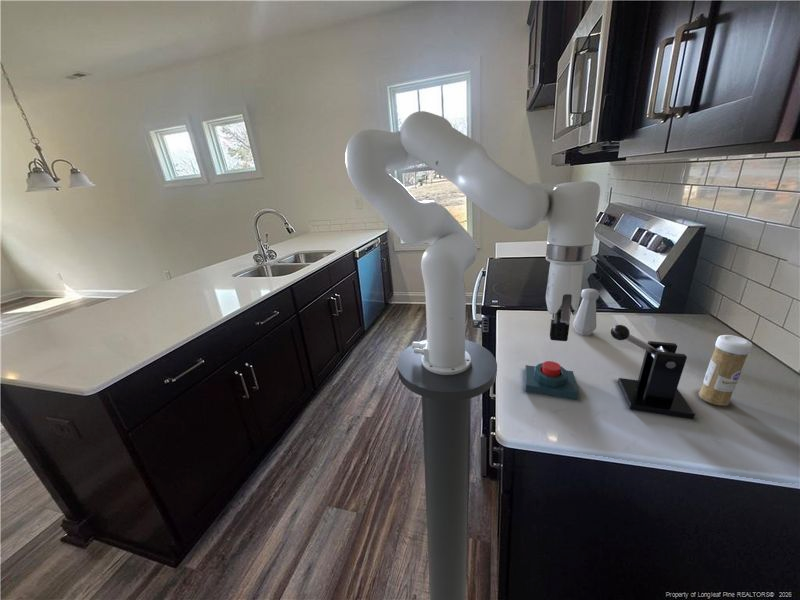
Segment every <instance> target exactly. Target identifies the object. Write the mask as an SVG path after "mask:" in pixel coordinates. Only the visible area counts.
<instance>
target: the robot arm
mask: <svg viewBox="0 0 800 600" xmlns="http://www.w3.org/2000/svg"><path fill="white" fill-rule="evenodd" d="M344 160H345V167H346V172H347V176H348V177H349V180H350V182H351V184H352V185H353V187H354V188H355V190H356V191H357V193H358V194H359V195H360V196H362V198H363V199H364V200H365V201H366V202H367V203H368V204H369V205H370V206H371V207H372V208H373V209H374V210H375V211H376V212H377V214H378V215H379V216H380V218H382V219H383V221H384V222H385V223H386V224H387V226H388V227H390V229H391V230H392V232H394V233H395V234H396V235H397V236H398V238H399V239H400V240H401V241H402V242H403V243H404V244H406V245H408V246H411V247H418V246H422V245H423V244H425V243H428V245H429V246H428V247H427V248H426V249H425V251H424V252H423V254H422V257H421V260H420V262H421V263H420V269H421V276H422V279H423V285H424V286H423V287H424V294H425V295H424V296H425V316H426V317H425V318H426V319H425V321H426V339H427V342H424V343H420V342H419V341H412V343H411V345H412V349H414V353H417V354H422V364H423V366H424V367H425V368H426V369H427V370H429V371H431V372H433V373H436V374H441V375H454V374H459V373H462V372H464V371H465V370H467V369H468V368H469V367H470V365H471V356H470V355H469V353H468V352H466V351H465V340H466V325H467V324H466V323H467V322H466V320H467V319H466V317H467V311H466V310H467V292H466V285H465V278H464V276H465V272H466V271H467V270H468V269H469V268H471V266H472V265H473V264H474V263H475V261H476V260H477V257H478V246H477V243H476V241H475V239H474V238H473V236H472V235H471V234H470V233H469V232H468V231H467V229H465V227H464V226H463V225H462V224H461V223H460V222H459V221H458V220H457V219H456V218H455V217H454V215H453V214H452V213H451V212H450V211H449V210H448V209H447V208H446V207H445V206H444V205H442V204H440V203H439V202H437V201H434V200H422V201H420V200H418V199H417V198H416V197H415V196H414V195H413V194H412V193H411V192H409V191H408V189H407V188H406V187H405V185H404V184H402V182H400V181H399V180H398V179H397V178H395V177H394V176H392V175H391V174H390V173H389V172H395V171H400V170H401V171H402V170H404V169H408V168H411V167H415V166H418V165H421V164H424V165H425V166H427V167H428V168H430V169H431V170H432V171H434V172H435V173H438V174H439V175H440V176H442V177H443V178H444V179H446V180H448V181H449V182H450V183H452V184H453V185H454V186H456V187H457V189H458V190H459V191H460V192H461V193H462V194H463V195H464V196H465V197H467V199H469V200H470V202H472V203H473V204H474V205H475V206H477V207H478V208H479V209H481V210H482V211H483V212H485V213H486V214H487V215H489V216H491V217H492V218H494V219H495V220H497V221H498V222H500V223H501V224H503V225H505V226H506V227H509V228H510V229H514V230H518V231H519V230H520V231H522V230H523V231H525V230H529V229H532V228H534V227H535V226H537V225H538V224H539V223H540V222H545V221H547V222H548V227H547V230H548V231H547V240H546V241H547V242H546V249H545V250H546V251H545V252H546V253H545V260H546V261H547V262H549V267H548V269H549V270H548V276H547V284H546V291H545V303H546V309H547V312H548V313H549V314H550V315H552V319H551V320H550V327H549V328H550V329H549V339H550V341H557V342H567V341H568V339H569V332H570V321H571V316H576V315H577V312H578V309H579V307H580V300H581V292H582V283H583V276H584V274H583V273H584V265H585V264H589V263H590V262H591V259H592V252H593V245H594V237H595V231H596V224H597V219H598V212H599V204H600V197H601V187H600V185H599V184H598V182H595V181H588V180H587V181H586V180H584V181H568V182H562V183H559V184H557V183H543V182H542V183H541V182H529V183H527V182H525V181H524V180H522V179H520V178H519V177H517V176H516V175H515V174H513V173H511V172H509V171H508V170H507V169H505V168H504V167H502V166H501V165H500V164H498V163H496V162H495V161H494V160H493V159H492V158H491V157H490V155H489V154H488V153H487V151H486V148H485V147H484V146H483V145H482V144H481V143H479V142H478V141H476V140H474V139H473V138H471V137H469V136H468V135H466V134H464V133H463V132H461V131H459V130H458V129H456V128H455V127H453V126H452V123H451V122H450V121H449V120H448V119H446V118H445V117H443V116H442V115H438V114H435V113H432V112H429V111H425V110H420V111H419V110H418V111H415V112H413V113H411V114H409V115H408V116H407V117H406V118H405V120H403V122H402V124H401V127H400V130H398V131H387V130H380V129H371V128H370V129H362V130H360V131H357V132H355V133H354V134H353V135H352V136H350V138H349V140H348V142H347V144H346V148H345V156H344Z"/></svg>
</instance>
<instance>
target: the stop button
mask: <svg viewBox="0 0 800 600" xmlns="http://www.w3.org/2000/svg"><path fill="white" fill-rule="evenodd" d="M542 363H543V366H542V372H543V374H545V375H547V376H551V377H558V376H559V375H560V371H561V367H562V366H561V364H559V363H558V362H556V361H551V360H548V361H547V360H546V361H544V362H542Z"/></svg>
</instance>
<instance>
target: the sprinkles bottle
mask: <svg viewBox="0 0 800 600" xmlns="http://www.w3.org/2000/svg"><path fill="white" fill-rule="evenodd" d="M714 345H715V348H714V351H713V353H712V356H711V358H710V361H709V364H708V366H707V370H706V372H705V375H704V378H703V382H702V386H701V388H700V390H699V392H698V396H699V398H700V399H702V400H703V401H705V402H707V403H709V404H710V405H714V406H719V407H720V406H721V407H726V406H729V405H730V402H731V398H732V395H733V392H734V391H735V389H736V387H737V384H738V381H739V379H740V377H741V374H742V370H743V368H744V365H745V362H746V361H747V360H746V359H747V357H748V356H749V354H751V351H752V348H753V343H752V342H751V341H750V340H748V339H746V338H743V337H742V336H741V337H740V336H737V335H732V334H722V335H719V336H718V337H717V339H716V341H715V344H714Z"/></svg>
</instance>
